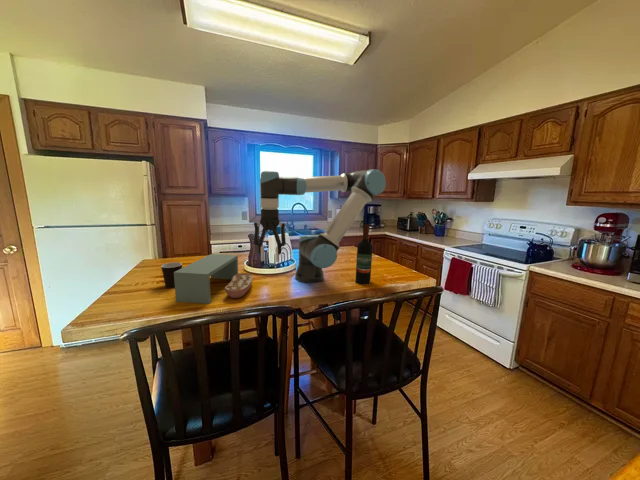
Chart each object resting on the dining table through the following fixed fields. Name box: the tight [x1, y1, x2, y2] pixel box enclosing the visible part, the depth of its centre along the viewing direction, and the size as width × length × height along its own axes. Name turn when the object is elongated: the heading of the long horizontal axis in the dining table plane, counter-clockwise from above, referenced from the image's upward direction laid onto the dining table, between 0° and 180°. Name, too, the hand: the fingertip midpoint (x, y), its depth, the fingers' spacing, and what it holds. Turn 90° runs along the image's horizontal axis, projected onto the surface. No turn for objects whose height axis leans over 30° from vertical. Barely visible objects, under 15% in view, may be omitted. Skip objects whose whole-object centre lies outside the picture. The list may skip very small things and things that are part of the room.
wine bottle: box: [354, 223, 374, 285], centre depth 137 cm, size 8×8×30 cm
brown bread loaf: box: [224, 272, 254, 299], centre depth 123 cm, size 23×10×5 cm, turn 4°
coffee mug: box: [160, 262, 183, 289], centre depth 128 cm, size 12×9×10 cm
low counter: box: [174, 253, 239, 305], centre depth 124 cm, size 14×31×12 cm, turn 175°
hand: (270, 260), depth 120 cm, fingers open, 6 cm apart
